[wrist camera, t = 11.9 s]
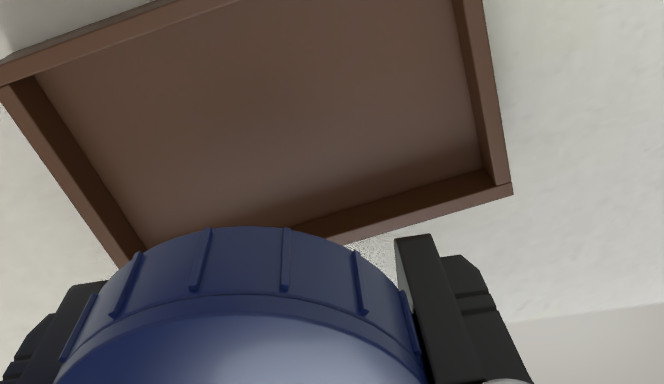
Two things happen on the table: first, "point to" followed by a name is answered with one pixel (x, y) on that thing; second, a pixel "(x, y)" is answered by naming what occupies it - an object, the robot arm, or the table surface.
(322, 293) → the jar lid
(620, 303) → the table surface
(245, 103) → the tray
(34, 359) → the robot arm
